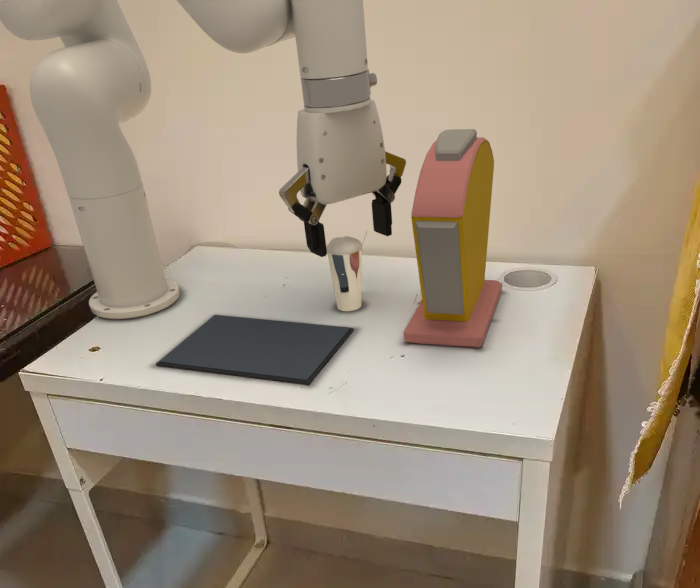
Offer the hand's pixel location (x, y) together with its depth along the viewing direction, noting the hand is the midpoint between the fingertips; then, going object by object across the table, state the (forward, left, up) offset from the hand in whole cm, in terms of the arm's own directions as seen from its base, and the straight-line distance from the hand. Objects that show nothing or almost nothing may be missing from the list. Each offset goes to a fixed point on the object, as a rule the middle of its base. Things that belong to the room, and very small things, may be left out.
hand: (351, 243), depth 90 cm
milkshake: (0, 0, -9) cm, 9 cm away
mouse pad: (+2, -16, -9) cm, 18 cm away
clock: (+11, +8, -9) cm, 16 cm away
